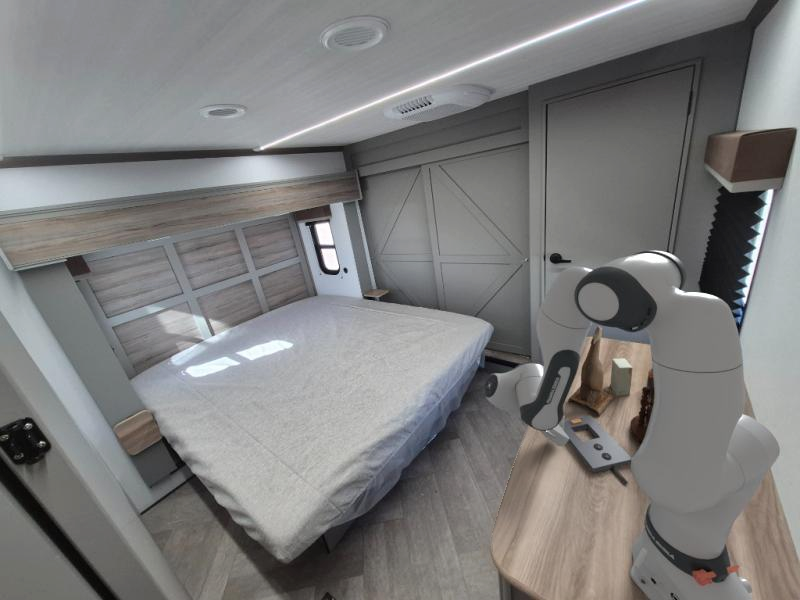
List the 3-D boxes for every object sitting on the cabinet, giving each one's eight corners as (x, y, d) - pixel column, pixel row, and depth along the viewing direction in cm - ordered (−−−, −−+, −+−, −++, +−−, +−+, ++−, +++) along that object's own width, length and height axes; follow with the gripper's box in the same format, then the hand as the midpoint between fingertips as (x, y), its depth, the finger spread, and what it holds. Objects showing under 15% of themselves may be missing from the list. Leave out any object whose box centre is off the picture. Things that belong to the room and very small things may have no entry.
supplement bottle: (670, 397, 109) (676, 371, 105) (651, 398, 110) (656, 372, 106) (660, 386, 114) (664, 361, 110) (642, 387, 115) (646, 362, 111)
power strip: (646, 479, 85) (647, 472, 84) (605, 489, 85) (605, 482, 84) (589, 419, 106) (590, 413, 105) (556, 427, 106) (556, 421, 105)
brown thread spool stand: (686, 428, 97) (698, 376, 90) (695, 465, 86) (709, 410, 79) (629, 415, 105) (635, 366, 98) (629, 447, 94) (637, 396, 87)
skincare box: (630, 395, 113) (633, 368, 108) (616, 395, 114) (619, 368, 109) (622, 384, 119) (625, 357, 114) (609, 384, 120) (612, 358, 115)
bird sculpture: (567, 403, 115) (569, 330, 102) (580, 386, 121) (584, 315, 109) (600, 418, 107) (607, 340, 94) (613, 398, 113) (621, 323, 100)
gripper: (554, 425, 83) (586, 443, 87) (518, 379, 102) (546, 396, 106) (538, 441, 84) (570, 458, 89) (506, 393, 103) (534, 409, 107)
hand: (557, 424), depth 97 cm, fingers closed on charger plug, 3 cm apart
